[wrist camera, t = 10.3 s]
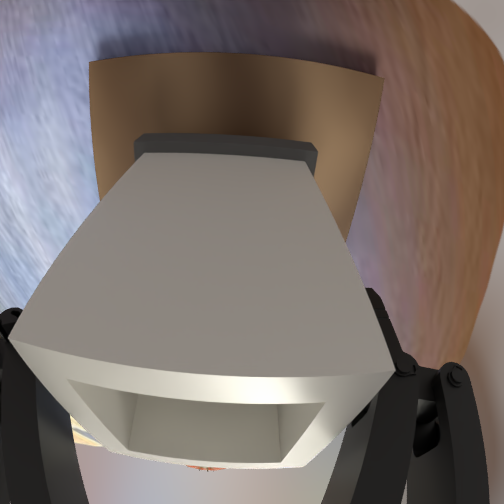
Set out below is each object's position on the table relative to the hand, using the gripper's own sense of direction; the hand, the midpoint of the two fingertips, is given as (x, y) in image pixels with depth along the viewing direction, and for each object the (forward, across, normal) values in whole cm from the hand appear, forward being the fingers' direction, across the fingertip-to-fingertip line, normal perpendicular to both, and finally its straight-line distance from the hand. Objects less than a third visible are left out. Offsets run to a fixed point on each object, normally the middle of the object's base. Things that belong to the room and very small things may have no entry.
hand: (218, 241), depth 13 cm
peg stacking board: (+6, 0, 0) cm, 6 cm away
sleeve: (+1, 0, 0) cm, 1 cm away
